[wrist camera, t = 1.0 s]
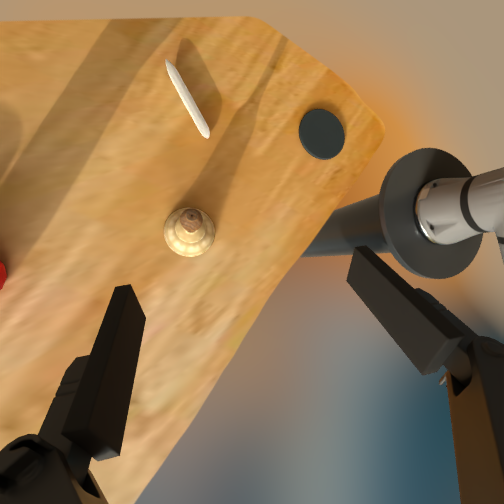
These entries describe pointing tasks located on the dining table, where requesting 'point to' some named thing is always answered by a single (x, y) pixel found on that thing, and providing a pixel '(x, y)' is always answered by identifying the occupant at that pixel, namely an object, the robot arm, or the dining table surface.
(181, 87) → the pen
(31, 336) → the dining table surface
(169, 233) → the hand bell
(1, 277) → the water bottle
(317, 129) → the corner coaster
